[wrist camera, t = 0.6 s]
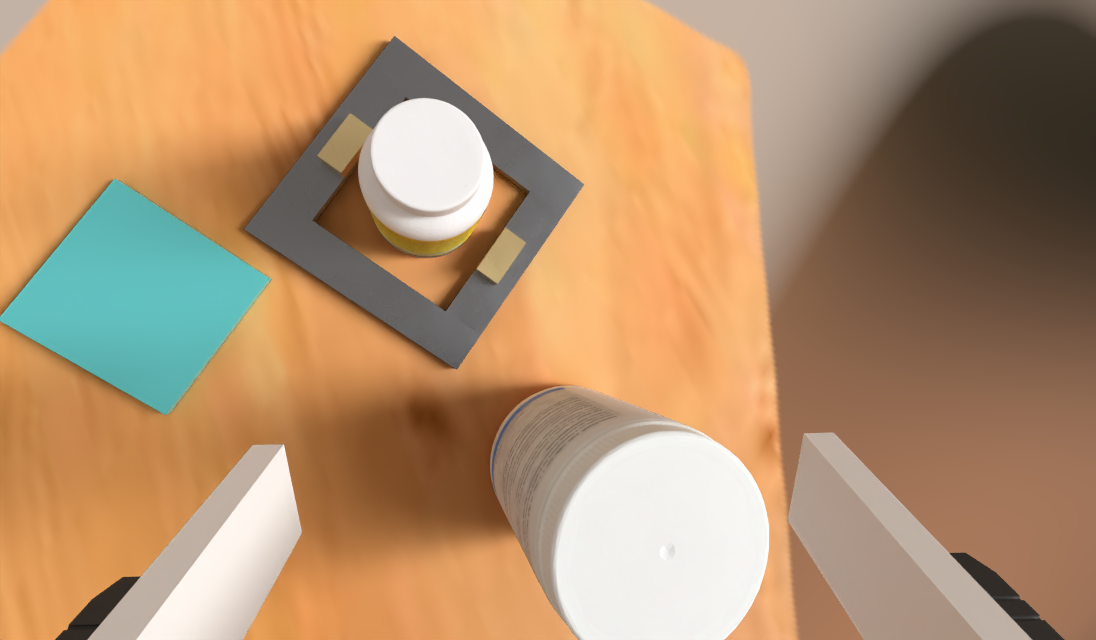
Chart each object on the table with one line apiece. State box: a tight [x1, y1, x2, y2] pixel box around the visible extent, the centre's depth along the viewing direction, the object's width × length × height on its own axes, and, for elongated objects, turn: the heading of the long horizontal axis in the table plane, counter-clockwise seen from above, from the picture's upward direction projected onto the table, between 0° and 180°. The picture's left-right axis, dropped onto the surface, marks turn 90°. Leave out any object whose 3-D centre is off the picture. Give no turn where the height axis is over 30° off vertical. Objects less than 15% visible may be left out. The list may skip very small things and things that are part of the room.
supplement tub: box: [490, 385, 769, 640], centre depth 28 cm, size 10×10×15 cm
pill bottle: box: [358, 98, 494, 258], centre depth 27 cm, size 6×6×11 cm
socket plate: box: [244, 36, 584, 370], centre depth 32 cm, size 14×14×2 cm
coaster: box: [0, 179, 272, 415], centre depth 29 cm, size 9×9×1 cm
